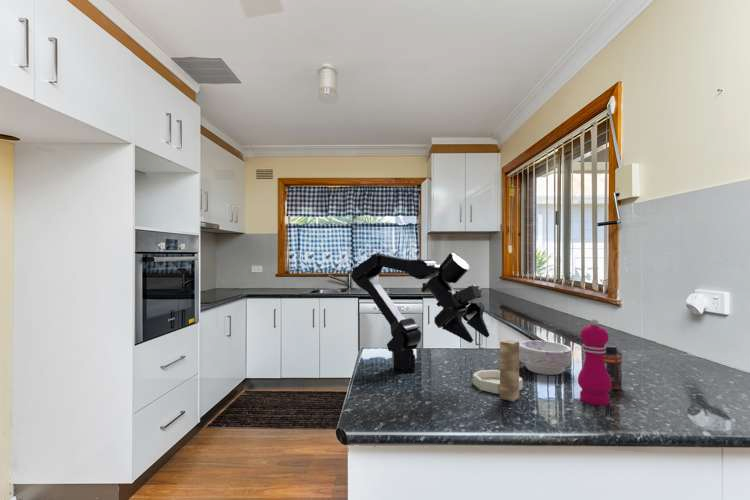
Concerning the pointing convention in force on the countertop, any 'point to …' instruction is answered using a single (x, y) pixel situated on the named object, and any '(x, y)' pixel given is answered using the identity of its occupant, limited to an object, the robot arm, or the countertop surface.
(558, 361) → the paper bowls
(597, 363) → the pepper mill
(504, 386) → the tall wooden post
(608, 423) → the countertop surface
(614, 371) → the supplement bottle
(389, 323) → the robot arm
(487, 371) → the bowl
